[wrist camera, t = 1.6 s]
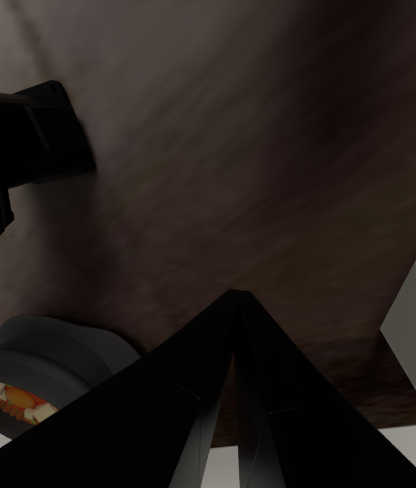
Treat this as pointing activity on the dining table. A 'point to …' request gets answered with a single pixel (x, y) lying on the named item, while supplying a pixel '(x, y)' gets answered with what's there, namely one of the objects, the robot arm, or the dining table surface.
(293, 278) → the dining table surface
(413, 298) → the domino
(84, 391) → the casserole
